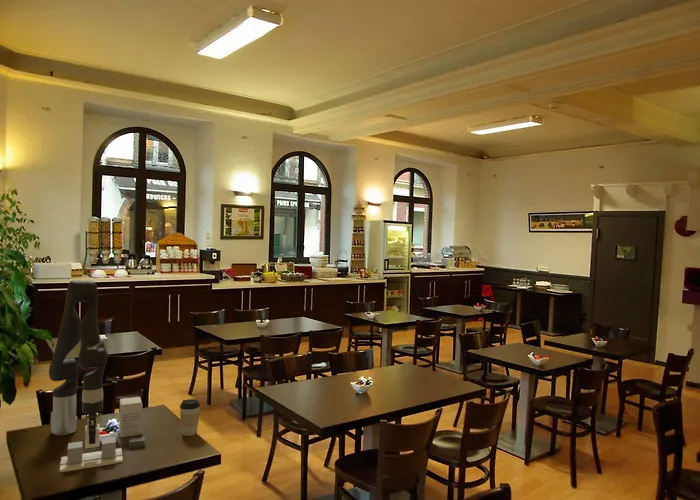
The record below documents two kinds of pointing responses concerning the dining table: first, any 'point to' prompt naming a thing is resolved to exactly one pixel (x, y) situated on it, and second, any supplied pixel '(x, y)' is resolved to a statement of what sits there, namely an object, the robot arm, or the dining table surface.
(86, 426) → the expansion module
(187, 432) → the coffee cup
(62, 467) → the board
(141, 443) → the block
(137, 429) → the supplement box
